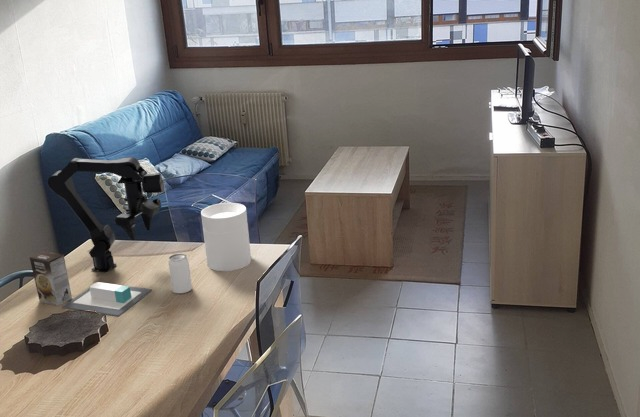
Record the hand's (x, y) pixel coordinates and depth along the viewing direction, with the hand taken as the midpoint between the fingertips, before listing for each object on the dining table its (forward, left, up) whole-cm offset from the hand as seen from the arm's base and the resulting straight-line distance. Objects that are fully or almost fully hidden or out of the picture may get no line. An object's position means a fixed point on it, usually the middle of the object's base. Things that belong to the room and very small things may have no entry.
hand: (141, 234), depth 229 cm
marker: (+5, -26, -11) cm, 29 cm away
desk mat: (+3, -26, -12) cm, 29 cm away
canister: (+29, +10, -12) cm, 33 cm away
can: (+24, -14, -12) cm, 30 cm away
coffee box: (-14, -31, -12) cm, 36 cm away
